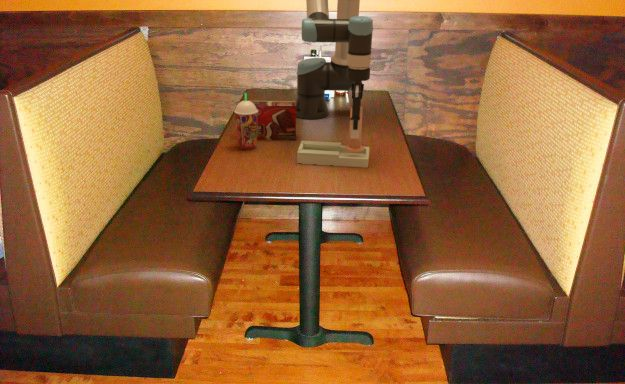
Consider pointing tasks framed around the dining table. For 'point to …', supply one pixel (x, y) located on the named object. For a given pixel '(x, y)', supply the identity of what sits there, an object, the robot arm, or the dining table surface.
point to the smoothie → (246, 124)
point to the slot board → (336, 161)
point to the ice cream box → (276, 120)
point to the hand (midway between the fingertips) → (355, 135)
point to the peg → (355, 143)
